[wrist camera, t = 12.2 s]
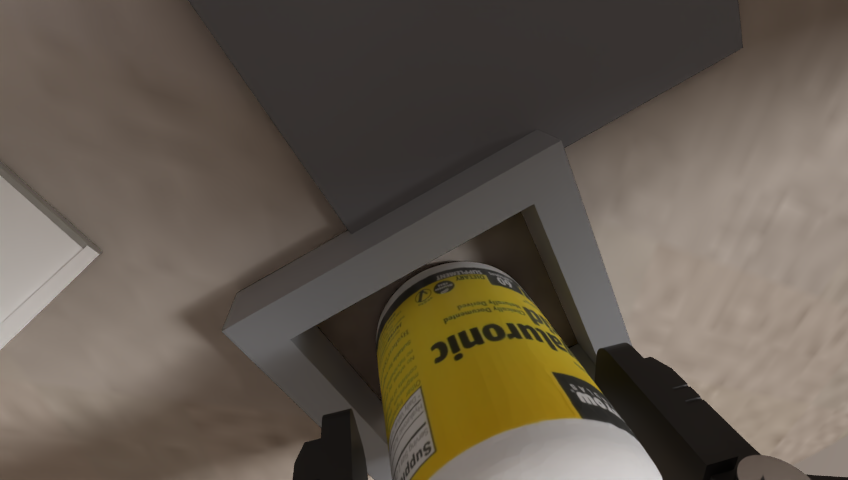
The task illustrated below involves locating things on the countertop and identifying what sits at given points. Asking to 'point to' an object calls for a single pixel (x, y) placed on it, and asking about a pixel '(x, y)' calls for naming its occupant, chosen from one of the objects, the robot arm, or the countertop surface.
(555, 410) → the supplement bottle
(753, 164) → the countertop surface
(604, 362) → the robot arm
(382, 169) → the mat
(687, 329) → the countertop surface
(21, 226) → the skyscraper
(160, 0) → the countertop surface
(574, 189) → the socket
